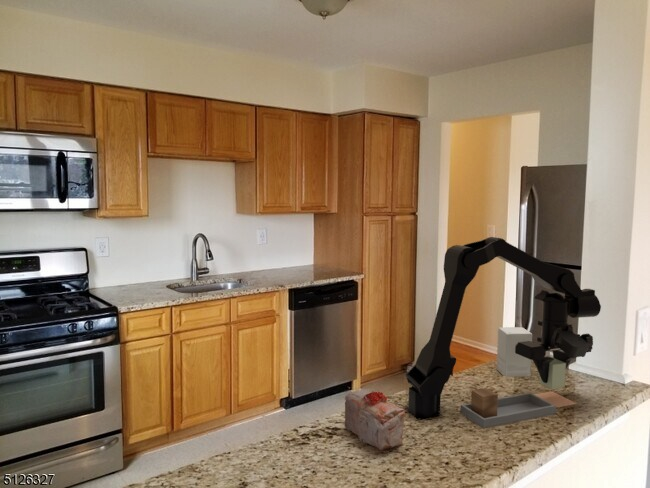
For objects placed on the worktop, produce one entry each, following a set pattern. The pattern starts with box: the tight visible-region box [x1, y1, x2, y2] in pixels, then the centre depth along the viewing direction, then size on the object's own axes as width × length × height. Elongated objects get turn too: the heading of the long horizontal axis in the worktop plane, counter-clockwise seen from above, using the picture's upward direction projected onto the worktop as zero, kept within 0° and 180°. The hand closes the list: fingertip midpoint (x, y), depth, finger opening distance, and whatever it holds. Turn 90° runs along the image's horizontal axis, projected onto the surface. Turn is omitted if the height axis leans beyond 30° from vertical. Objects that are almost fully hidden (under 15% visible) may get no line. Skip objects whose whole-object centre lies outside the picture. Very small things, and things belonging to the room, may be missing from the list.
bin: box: [460, 392, 557, 429], centre depth 115 cm, size 20×8×2 cm, turn 111°
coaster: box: [533, 391, 578, 409], centre depth 123 cm, size 8×8×1 cm
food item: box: [344, 389, 406, 451], centre depth 105 cm, size 14×8×10 cm, turn 36°
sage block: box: [538, 358, 567, 390], centre depth 122 cm, size 4×4×6 cm
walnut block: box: [470, 387, 499, 418], centre depth 113 cm, size 4×4×6 cm
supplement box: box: [496, 326, 533, 377], centre depth 142 cm, size 7×7×13 cm
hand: (551, 381), depth 123 cm, fingers closed on sage block, 4 cm apart
